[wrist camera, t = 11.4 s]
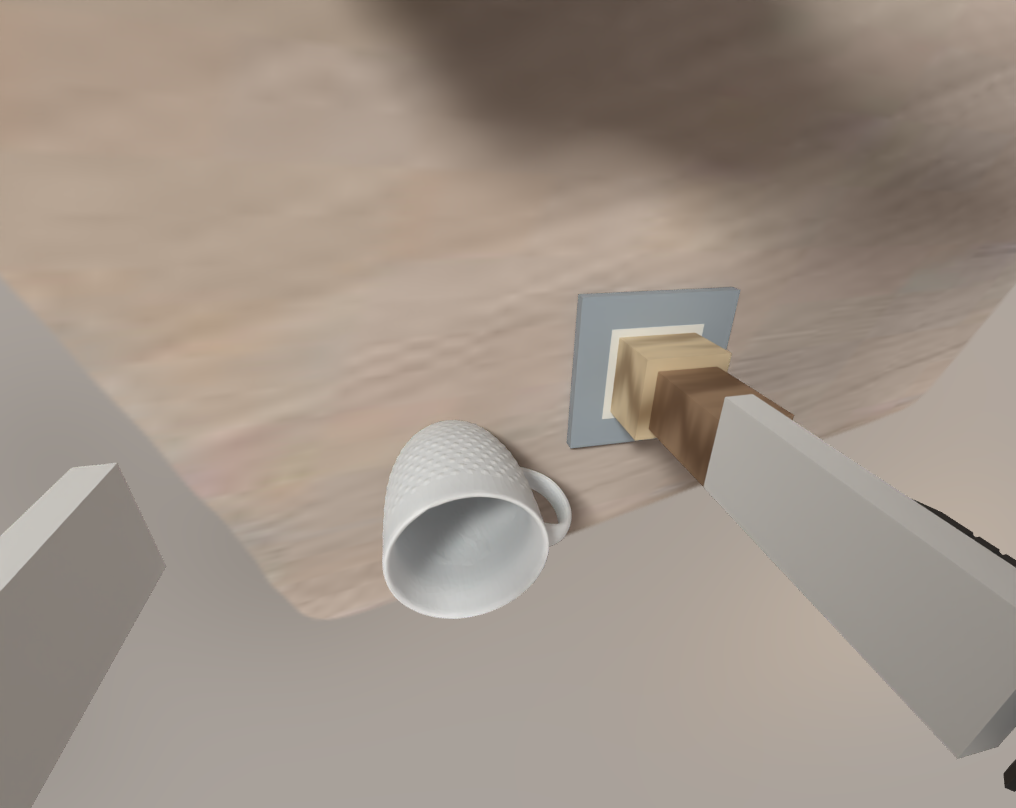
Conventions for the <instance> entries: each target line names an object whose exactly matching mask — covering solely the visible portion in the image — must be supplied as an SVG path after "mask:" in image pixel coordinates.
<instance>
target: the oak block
mask: <svg viewBox="0 0 1016 808" xmlns="http://www.w3.org/2000/svg"><path fill="white" fill-rule="evenodd" d="M731 354H732V353H730V352H729V351H727V350H725V349H723V348H722V347H720V346H718V345H716V344H715V343H713V342H711V341H709V340H708V339H706V338H704V337H702V336H701V335H699V334H697V333H681V334H666V335H651V336H636V337H621V338H619V345H618V353H617V361H616V369H615V378H614V386H613V394H612V402H611V410H610V412H611V413H612V414H613V416H614V417H615V418H616V419H617V420H618V421H619V422H620V424H621V425H622V426H623V427H624V428H625V429H626V431H627V432H628V433H629V434H630V435H631V436H632V438H633V439H634V440H635V441H636V440H644V439H653V438H657V437H656V436H655V435H654V434H653V433H652V432H651V431H650V430H649V423H650V417H651V411H652V405H653V399H654V393H655V387H656V381H657V375H658V372H659V371H670V370H682V369H694V368H705V367H719V368H721V369H722V370H724V371H725V372H727V371H728V367H729V362H730V358H731Z"/></svg>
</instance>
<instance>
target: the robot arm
mask: <svg viewBox="0 0 1016 808" xmlns="http://www.w3.org/2000/svg"><path fill="white" fill-rule="evenodd" d="M704 489H705V490H706V491H707V492H708V493H709V494H710V495H711V496H712V497H713V498H714V499H715V500H716V502H717V503H718V504H719V505H720V506H721V507H722V508H723V509H724V510H725V511H726V512H727V513H728V514H729V515H730V517H731V518H732V519H733V520H734V521H735V522H736V523H737V524H738V525H739V526H740V527H741V528H742V529H743V530H744V531H745V533H746V534H747V535H748V536H749V537H750V538H751V539H752V540H753V541H754V542H755V543H756V544H757V545H758V546H759V547H760V549H761V550H762V551H763V552H764V553H765V554H766V555H767V556H768V557H769V558H770V559H771V560H772V561H773V562H774V563H775V565H776V566H778V568H779V569H780V570H781V571H782V572H783V573H784V574H785V575H786V576H787V577H788V578H789V579H790V581H791V582H792V583H793V584H794V585H795V586H796V587H797V588H798V589H799V590H800V591H801V592H802V593H803V595H804V596H805V597H806V598H807V599H808V600H809V601H810V602H811V603H812V604H813V605H814V606H815V607H816V608H817V609H818V611H820V613H821V614H822V615H823V616H824V617H825V618H826V619H827V620H828V621H829V622H830V623H831V624H832V625H833V627H834V628H835V629H836V630H837V631H838V632H839V633H840V634H841V635H842V636H843V637H844V638H845V639H846V640H847V641H848V643H849V644H850V645H851V646H852V647H853V648H854V649H855V650H856V651H857V652H858V653H859V654H860V655H861V656H862V658H863V659H864V660H865V661H866V662H867V663H868V664H869V665H870V666H871V667H872V668H873V669H874V670H875V671H876V673H878V675H879V676H880V677H881V678H882V679H883V680H884V681H885V682H886V683H887V684H888V685H889V686H890V687H891V689H892V690H893V691H894V692H895V693H896V694H897V695H898V696H899V697H900V698H901V699H902V700H903V701H904V702H905V703H906V704H907V706H908V707H909V708H910V709H911V710H912V711H913V712H914V713H915V714H916V715H917V716H918V717H919V718H920V719H921V721H922V722H923V723H924V724H925V725H926V726H927V727H928V728H929V729H930V730H931V731H932V732H933V733H934V735H936V737H937V738H938V739H939V740H940V741H941V742H942V743H943V744H944V745H945V746H946V747H947V748H948V749H949V750H950V752H951V753H952V754H953V755H954V756H955V757H956V758H957V759H959V758H962V757H965V756H969V755H972V754H976V753H979V752H982V751H986V750H989V749H992V748H996V747H998V746H999V745H1000V744H1001V743H1002V742H1003V740H1004V739H1005V738H1006V737H1007V736H1008V735H1009V734H1010V733H1011V731H1012V730H1013V729H1014V728H1015V727H1016V560H1015V559H1013V558H1011V557H1010V556H1008V555H1006V554H1005V555H1002V554H1001V553H1000V552H999V549H998V548H996V547H995V546H993V545H991V544H990V543H988V542H987V541H985V540H984V539H982V538H981V537H975V536H974V535H973V532H971V531H970V530H968V529H967V528H965V527H964V526H962V525H960V524H959V523H958V522H956V521H954V520H953V519H951V518H950V517H948V516H947V515H945V514H943V513H942V512H940V511H938V510H936V509H933V508H931V507H929V506H927V505H924V504H922V503H920V502H918V501H916V500H913V499H911V498H909V497H908V496H906V495H905V494H903V493H902V492H900V491H899V490H897V489H896V488H894V487H893V486H891V485H890V484H888V483H887V482H885V481H884V480H882V479H881V478H879V477H878V476H876V475H875V474H873V473H871V472H870V471H868V470H867V469H865V468H864V467H862V466H861V465H859V464H858V463H856V462H855V461H853V460H852V459H850V458H849V457H847V456H846V455H844V454H843V453H841V452H840V451H838V450H837V449H835V448H834V447H832V446H831V445H829V444H827V443H826V442H825V441H823V440H822V439H820V438H818V437H817V436H815V435H814V434H812V433H811V432H809V431H808V430H806V429H805V428H803V427H802V426H800V425H799V424H797V423H796V422H794V421H793V420H791V419H790V418H788V417H787V416H785V415H784V414H782V413H781V412H779V411H778V410H776V409H775V408H773V407H772V406H770V405H768V404H767V403H765V402H764V401H762V400H761V399H759V398H758V397H756V396H755V395H753V394H748V395H739V396H730V397H725V399H724V403H723V407H722V412H721V416H720V420H719V424H718V428H717V432H716V437H715V441H714V445H713V449H712V453H711V457H710V462H709V466H708V470H707V474H706V478H705V482H704ZM165 568H166V564H165V563H164V560H163V558H162V556H161V554H160V552H159V550H158V548H157V546H156V544H155V541H154V539H153V537H152V535H151V533H150V531H149V529H148V527H147V524H146V522H145V520H144V518H143V516H142V514H141V512H140V510H139V507H138V505H137V503H136V502H135V499H134V497H133V495H132V493H131V491H130V489H129V486H128V484H127V482H126V480H125V478H124V476H123V474H122V472H121V470H120V468H119V465H118V463H111V464H103V465H92V466H83V467H74V468H71V469H70V470H69V471H68V472H67V473H66V474H65V475H64V476H63V477H61V479H59V480H58V481H57V482H56V483H55V484H54V485H53V486H52V487H51V488H50V489H49V490H48V491H47V492H46V493H45V494H44V495H43V496H42V497H41V498H40V499H39V500H37V502H35V503H34V504H33V505H32V506H31V507H30V508H29V509H28V510H27V511H26V512H25V513H24V514H23V515H22V516H21V517H20V518H19V519H18V520H17V521H16V522H15V523H13V524H12V525H11V526H10V527H9V528H8V529H7V530H6V531H5V532H4V533H3V534H2V535H1V536H0V808H31V807H32V805H33V803H34V802H35V800H36V798H37V796H38V794H39V793H40V791H41V789H42V787H43V786H44V784H45V782H46V780H47V778H48V777H49V775H50V773H51V771H52V770H53V768H54V766H55V764H56V762H57V761H58V759H59V757H60V755H61V753H62V752H63V750H64V748H65V746H66V744H67V743H68V741H69V739H70V737H71V735H72V733H73V732H74V730H75V728H76V726H77V725H78V723H79V721H80V720H81V718H82V716H83V714H84V712H85V711H86V709H87V707H88V705H89V703H90V702H91V700H92V698H93V696H94V694H95V693H96V691H97V689H98V687H99V686H100V684H101V682H102V680H103V678H104V677H105V675H106V673H107V671H108V669H109V668H110V666H111V664H112V662H113V661H114V659H115V657H116V655H117V653H118V651H119V650H120V648H121V646H122V645H123V643H124V641H125V639H126V637H127V636H128V634H129V632H130V630H131V628H132V627H133V625H134V623H135V621H136V619H137V618H138V616H139V614H140V612H141V611H142V609H143V607H144V605H145V603H146V602H147V600H148V598H149V596H150V594H151V593H152V591H153V589H154V587H155V586H156V583H157V582H158V580H159V578H160V576H161V575H162V573H163V571H164V570H165ZM1004 784H1005V788H1007V789H1009V790H1012V791H1014V792H1015V791H1016V760H1015V761H1014V762H1013V763H1012V764H1011V765H1010V766H1009V767H1008V769H1007V770H1006V771H1005V772H1004Z"/></svg>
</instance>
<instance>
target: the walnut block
mask: <svg viewBox="0 0 1016 808" xmlns="http://www.w3.org/2000/svg"><path fill="white" fill-rule="evenodd" d="M748 394H753V395H755V396H756V397H758V398H759V399H761V400H762V401H764V402H765V403H767V404H768V405H770V406H772V407H773V408H775V409H776V410H778V411H779V412H781V413H782V414H784V415H785V416H787V417H788V418H790V419H791V420H793V417H794V415H793V414H791V413H790V412H788V411H787V410H785V409H783V408H782V407H780V406H779V405H777V404H776V403H774V402H772V401H771V400H769V399H768V398H766V397H765V396H763V395H761V394H760V393H758V392H757V391H755V390H754V389H752V388H750V387H749V386H747V385H746V384H744V383H743V382H741V381H739V380H738V379H736V378H735V377H733V376H732V375H730V374H728V373H727V372H725V371H724V370H722V369H721V368H719V367H705V368H694V369H682V370H670V371H659V372H658V375H657V381H656V387H655V393H654V399H653V405H652V411H651V417H650V423H649V430H650V431H651V432H652V433H653V434H654V435H655V436H656V437H657V438H658V439H659V441H660V442H661V443H662V444H663V445H664V446H665V447H666V448H667V449H668V450H669V451H670V452H671V453H672V454H673V455H674V456H675V457H676V458H677V460H678V461H679V462H680V463H681V464H682V465H683V466H684V467H685V468H686V469H687V470H688V471H689V472H690V473H691V474H692V475H693V476H694V477H695V478H696V480H697V481H698V482H699V483H700V484H701V485H702V486H703V487H704V482H705V478H706V474H707V470H708V466H709V462H710V457H711V453H712V449H713V445H714V441H715V437H716V432H717V428H718V424H719V420H720V416H721V412H722V407H723V403H724V399H725V397H730V396H739V395H748Z"/></svg>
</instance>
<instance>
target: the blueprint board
mask: <svg viewBox="0 0 1016 808" xmlns="http://www.w3.org/2000/svg"><path fill="white" fill-rule="evenodd" d="M739 294H740V290H739V289H737V288H734V287H725V288H703V289H682V290H660V291H639V292H617V293H596V294H578V306H577V319H576V331H575V344H574V357H573V370H572V383H571V395H570V408H569V421H568V434H567V444H568V445H569V447H570V448H578V447H587V446H596V445H605V444H613V443H622V442H631V441H635V440H634V439H633V438H632V436H631V435H630V434H629V433H628V432H627V431H626V429H625V428H624V427H623V426H622V425H621V424H620V422H619V421H618V420H617V419H616V418H615V417H614V416H613V414H612V413H611V412H610V410H611V402H612V394H613V386H614V378H615V369H616V361H617V353H618V345H619V338H621V337H636V336H651V335H666V334H681V333H697V334H699V335H701V336H702V337H704V338H706V339H708V340H709V341H711V342H713V343H715V344H716V345H718V346H720V347H722V348H723V349H725V350H726V349H727V344H728V340H729V336H730V332H731V328H732V323H733V319H734V315H735V311H736V306H737V302H738V298H739ZM653 439H658V438H653ZM644 440H649V439H644ZM636 441H640V440H636Z"/></svg>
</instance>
